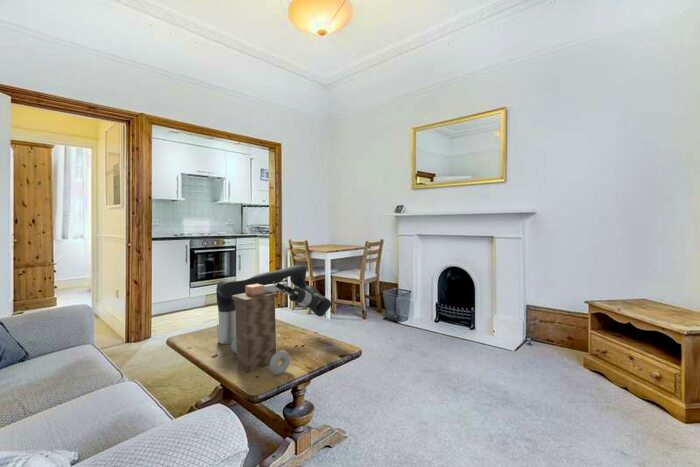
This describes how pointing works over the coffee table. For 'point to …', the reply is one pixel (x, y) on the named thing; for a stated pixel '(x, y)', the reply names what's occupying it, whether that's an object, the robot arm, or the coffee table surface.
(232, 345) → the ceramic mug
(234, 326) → the robot arm
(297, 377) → the coffee table surface
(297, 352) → the coffee table surface
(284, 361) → the donut
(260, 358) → the walnut stand
